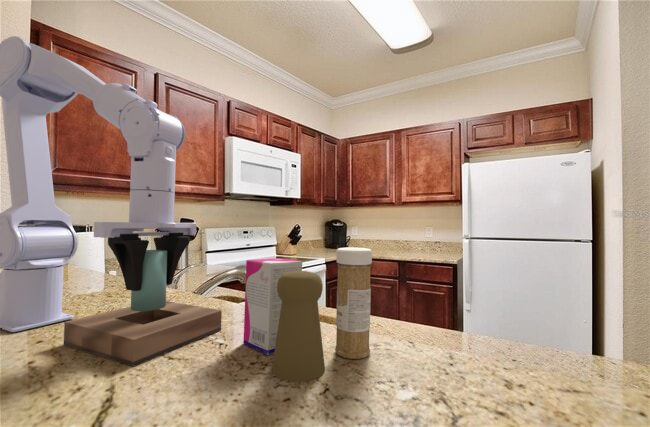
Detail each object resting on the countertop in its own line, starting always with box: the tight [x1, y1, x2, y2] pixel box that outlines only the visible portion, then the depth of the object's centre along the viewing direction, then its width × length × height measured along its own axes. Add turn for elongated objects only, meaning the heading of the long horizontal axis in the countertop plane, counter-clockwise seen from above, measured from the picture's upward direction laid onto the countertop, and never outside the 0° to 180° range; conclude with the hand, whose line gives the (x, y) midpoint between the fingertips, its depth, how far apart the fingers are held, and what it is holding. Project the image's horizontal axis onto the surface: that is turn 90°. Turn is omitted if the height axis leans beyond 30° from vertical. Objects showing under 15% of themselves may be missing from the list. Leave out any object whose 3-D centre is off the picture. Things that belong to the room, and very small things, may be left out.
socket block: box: [63, 300, 223, 367], centre depth 46 cm, size 14×14×3 cm
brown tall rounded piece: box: [271, 270, 326, 383], centre depth 37 cm, size 6×6×11 cm
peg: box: [130, 249, 167, 311], centre depth 46 cm, size 4×4×8 cm
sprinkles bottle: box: [334, 246, 373, 360], centre depth 41 cm, size 5×5×13 cm
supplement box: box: [242, 257, 303, 356], centre depth 44 cm, size 6×6×12 cm
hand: (149, 286), depth 46 cm, fingers closed on peg, 4 cm apart
